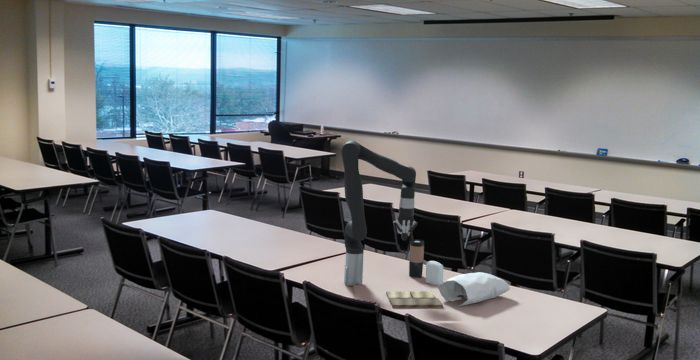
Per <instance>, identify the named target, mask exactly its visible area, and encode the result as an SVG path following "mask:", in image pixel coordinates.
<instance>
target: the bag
mask: <svg viewBox="0 0 700 360" xmlns="http://www.w3.org/2000/svg"><path fill="white" fill-rule="evenodd" d="M437 289H438V291H439V293H440V295H441V296H442V298H443V299H444V301H445V302H446V303H447V304H448V302H454V301H455V302H456V301H461V300H463V299H466V300H465V301H464V302H463V303H462V304H459V305H457V307H461V306H466V305H471V304H475V303H476V304H477V303H479V302H483V301H487V300H491V299H495V298H497V297H498V296H501V295H503V294H505V293H507V292H509V290H511V287H510V284H509V283H508V282H507V281H505V280H504V279H502V278H500V277H497V276H495V275H493V274H491V273H486V272H483V271H482V272H479V271H478V272H477V271H476V272H469V273H462V274H459V275H455V276H452V277H450V278H448V279H446V280H445V281H443V283H441V284H440V285H437ZM462 298H463V299H462Z"/></svg>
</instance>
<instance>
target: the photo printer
mask: <svg viewBox="0 0 700 360" xmlns="http://www.w3.org/2000/svg"><path fill="white" fill-rule="evenodd" d="M443 282H444V265H443V264H441V263H440V262H438V261H435V260H428V261H426V265H425V283H427V284H429V285H432V286H439V285H440V284H441V283H443Z"/></svg>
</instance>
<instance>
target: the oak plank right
mask: <svg viewBox="0 0 700 360" xmlns="http://www.w3.org/2000/svg"><path fill="white" fill-rule="evenodd" d="M409 294H410V296H411V297H412V298H436V295H435V294H434V293H433V292H432V291H423V290H422V291H418V290H417V291H416V290H415V291H412V290H411V291H409Z"/></svg>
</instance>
